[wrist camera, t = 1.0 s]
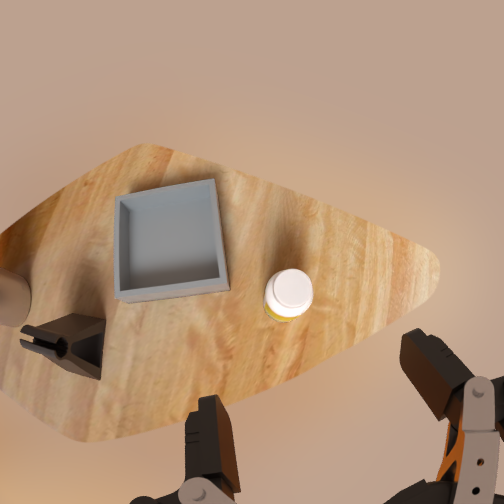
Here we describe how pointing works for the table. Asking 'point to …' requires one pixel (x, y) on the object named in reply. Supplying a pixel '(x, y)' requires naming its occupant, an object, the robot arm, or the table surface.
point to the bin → (169, 243)
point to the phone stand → (70, 343)
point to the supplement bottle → (287, 295)
